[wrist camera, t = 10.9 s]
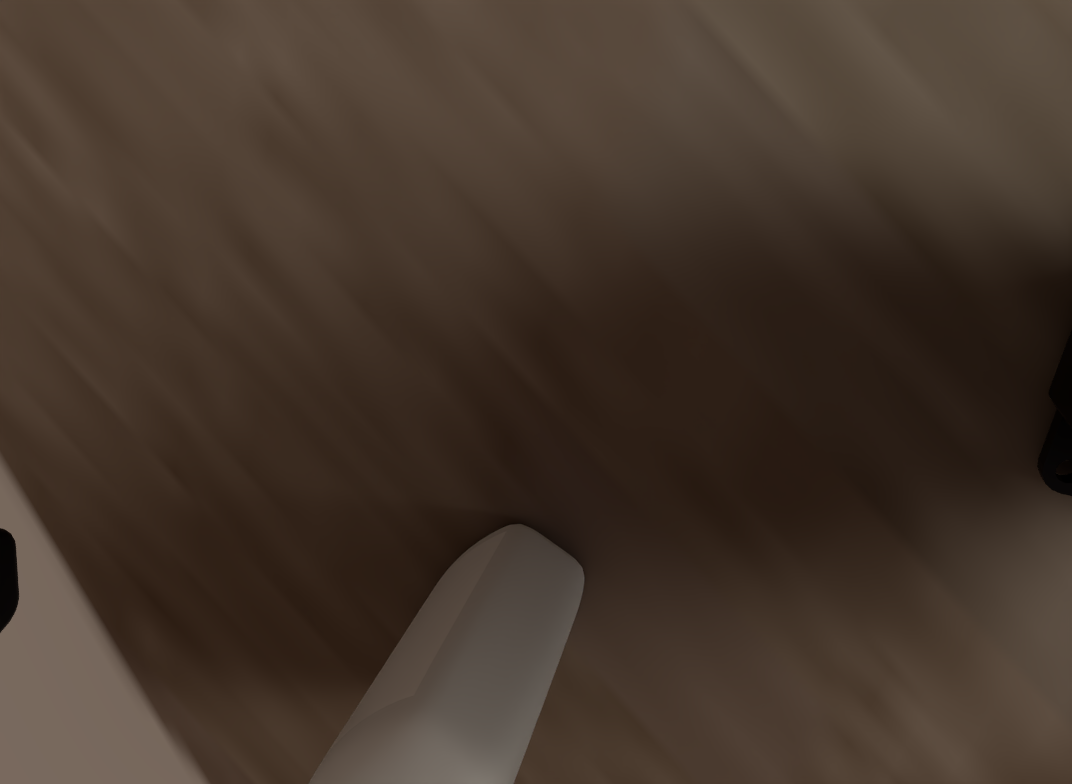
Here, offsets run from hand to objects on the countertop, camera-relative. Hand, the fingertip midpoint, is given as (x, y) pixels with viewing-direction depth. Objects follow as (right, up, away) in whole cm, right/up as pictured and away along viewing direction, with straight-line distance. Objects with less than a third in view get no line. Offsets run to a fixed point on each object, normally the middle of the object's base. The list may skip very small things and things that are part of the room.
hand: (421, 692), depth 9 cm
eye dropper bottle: (0, -3, +15) cm, 16 cm away
